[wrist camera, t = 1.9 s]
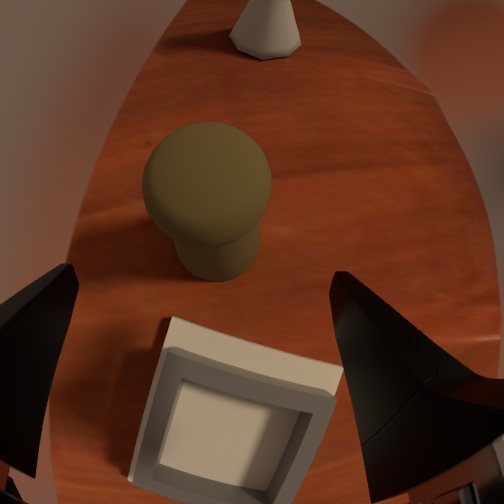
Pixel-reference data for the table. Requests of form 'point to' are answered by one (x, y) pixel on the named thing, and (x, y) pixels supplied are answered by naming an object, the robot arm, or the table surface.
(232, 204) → the cork
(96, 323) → the table surface
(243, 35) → the flask
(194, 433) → the socket
